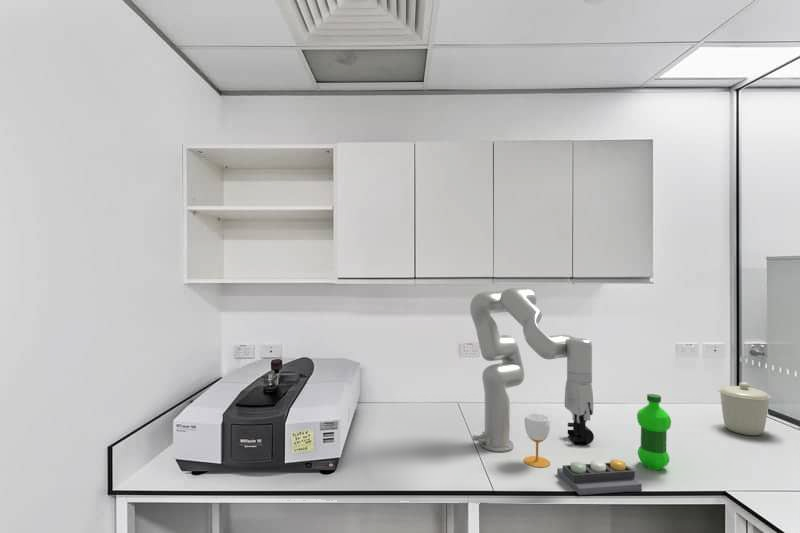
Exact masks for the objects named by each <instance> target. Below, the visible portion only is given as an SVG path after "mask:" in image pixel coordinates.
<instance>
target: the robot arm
mask: <svg viewBox="0 0 800 533" xmlns="http://www.w3.org/2000/svg"><path fill="white" fill-rule="evenodd" d="M536 304H537V296H536V294H535V292H534V291H533V290H532V289H530V288H527V287H511V288H507V289H504V290H501V291H483V292H479V293H477V294H475V295H474V296H473V298H472V299H471V302H470V304H469V305H470V306H469V308H470V309H469V311H470V316H471V319H472V321H473V324H474V327H475V330H476V335H477V339H478V344H479V349H480V353H481V356H482V358H483V359H484V360H485V361H488V362H494V361H495V362H497V361H501V363H495V364H490V365H488V366H487V367H485V368H484V370H483V371H482V384H483V391H484V431H482V432H481V433H482V434H480V435H472V436H471V437H472V441H473V442H474V441H477V443H479V445H480V446H481V448H483V449H485V450H488V451H491V452H497V453H498V452H500V453H502V452H504V453H505V452H509V451H512V450H513V448H514V442H513V441H512V440H510V428H511V427H510V426H511V425H510V423H511V422H510V421H511V420H510V417H511V415H510V414H511V409H510V407H511V405H510V404H511V402H510V397H509V395H508V392H507V390H506V389H508V388H513V387H518V386H519V385H521V384H522V383H523V382H524V381H525V380H524V379H525V370H524V365H523V361H522V356H521V352H520V348H519V346H518V343H517V341H516V340H515V338H514V337H512V336H510V335H507V334H505V335H504V334H503V335H501V334H500V333H499V329H498V328H499V327H498V325H497V322H496V320H495V319H494V317H493V316H492V315H491V314H495V313H496V314H499V313H509V314H510V315H511V317H513V319H514V320H515V321H517V323H519V325H520V326H521V327H522V332H523V333H522V334H523V337H524V339H525V342H526V343H527V345H528V346H529V347H530V348H531V349H532V350H533V351H534V352H535V353H536V354H537V355H538V356H539V357H541V358H542V359H545V360H556V359H563V358H566V382H565V387H564V388H565V390H564V407H565V409H566V410H568V411H569V412H570V413H571V415H572V416H571V417H572V420H573V423H574V429H573V430H574V434H576V435H585V425H586V423H587V421H591V416H592V415H593V414H594V395H593V344H592V341H591V340H589V339H587V338H579V337H574V336H571V335H570V334H569V335H567V334H560V335H559V334H557V335H550V336H549V335H547V334H546V333H544V331H542V330H541V328H539V327H538V324H539V323H540V321H541V320H542V317H543V314H542V311H541V310H540V309H539V308H538V307H537V306H536Z"/></svg>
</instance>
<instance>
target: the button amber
mask: <svg viewBox="0 0 800 533" xmlns="http://www.w3.org/2000/svg"><path fill="white" fill-rule="evenodd" d="M609 463H610V468H612V469H613V470H614V471H626V466H627V464H626V462H625V461H623V460H620V459H610V461H609Z"/></svg>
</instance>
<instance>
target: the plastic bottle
mask: <svg viewBox="0 0 800 533" xmlns="http://www.w3.org/2000/svg"><path fill="white" fill-rule="evenodd" d="M646 400H647V401H648V404H647V405H645V406H643V407H642V408H640V409H638V411H637V414H636V419H637V422H638V426H640V446H639V447H638V449H637V456H638V459H639V460H640V462H641V463H642V464H643V466H646V467H645V468H647V469H649V470H654V471H660V470H662V469H663V468H665V467H666V466H668V465H669V462H670V456H669V453H668V451H667V435H668V433H667V432H668V430H669V429H670V428H671V424H672V420H671V417H670V415H669V414H668V412H666V411H665V410H664V408H662V407H661V406H660V403H661V401H662V397H661V395H659V394H655V393H649V394H646Z"/></svg>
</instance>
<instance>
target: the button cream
mask: <svg viewBox="0 0 800 533" xmlns="http://www.w3.org/2000/svg"><path fill="white" fill-rule="evenodd" d="M605 463H606V462H604V461H599V460H592V461H590V464H591V470H593V471H594V472H595V473H597V472H606V464H605Z"/></svg>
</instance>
